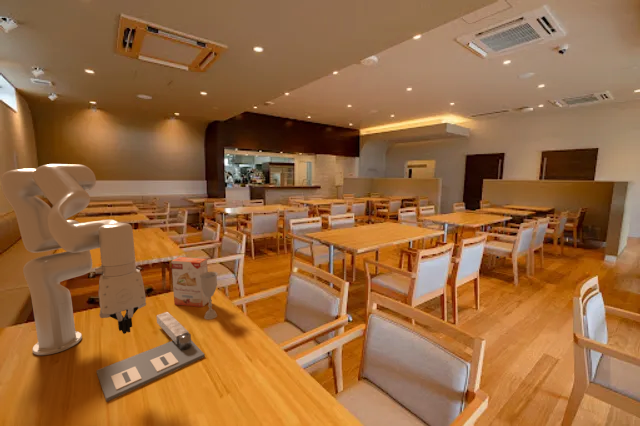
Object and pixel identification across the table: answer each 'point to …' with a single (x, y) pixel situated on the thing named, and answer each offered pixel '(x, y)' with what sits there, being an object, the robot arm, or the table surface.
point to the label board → (145, 368)
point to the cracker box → (189, 281)
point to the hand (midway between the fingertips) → (125, 330)
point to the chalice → (209, 290)
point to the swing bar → (174, 330)
